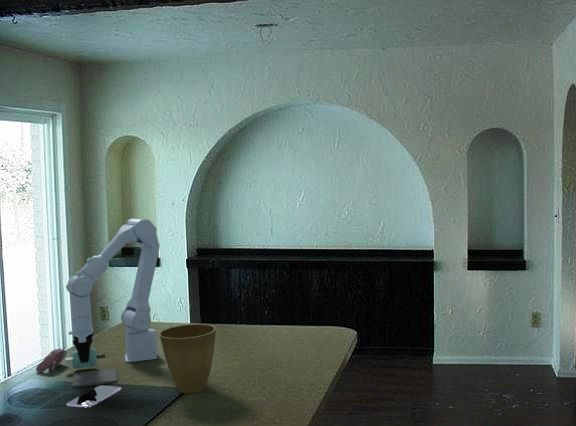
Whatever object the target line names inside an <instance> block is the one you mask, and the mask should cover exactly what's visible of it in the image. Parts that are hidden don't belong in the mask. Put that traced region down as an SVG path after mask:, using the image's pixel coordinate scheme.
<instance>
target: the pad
mask: <svg viewBox="0 0 576 426" xmlns="http://www.w3.org/2000/svg"><path fill="white" fill-rule="evenodd" d="M117 375H118V374H117V368H116V367H115V368H114V367H113V368H105V369H96V370H87V371H82V372H74V373H73V378H72V385H71V386H72V389H74V388H81V387H82V386H83V387H90V386H100V385H105V384H114V383H118V376H117ZM83 387H82V388H83Z"/></svg>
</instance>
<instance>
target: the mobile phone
mask: <svg viewBox="0 0 576 426" xmlns="http://www.w3.org/2000/svg"><path fill="white" fill-rule="evenodd" d="M121 390H122V387H121V386H114V385H113V386H112V385H105V384H100V385H97V386H95V387H94V388H92V389H90V390H88V391H86V392H84V393H83V394H81V395H80V396H78V397H76V398H75V397H74V398H73V399H72V400H69V401H68V402H66V405H65V406H67V407H74V408H82V407H84V409H87V407H89V408H92V407H93V405H94V406H95V405H98V404H99V403H101V402H103V401H104V400H106V399H107V398H109V397H112V396H113V395H114V394H116V393H118V392H119V391H121ZM100 401H101V402H100ZM98 402H99V403H98ZM91 406H92V407H91Z"/></svg>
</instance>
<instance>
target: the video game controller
mask: <svg viewBox="0 0 576 426" xmlns="http://www.w3.org/2000/svg"><path fill="white" fill-rule="evenodd" d="M67 353H68V350H65V349H63V348H56V349H53V350H52V351H50V352H49V353H48V354H47V355H46V356H45V357H44V359H43V360H42V361H41V362H40V363H39V364H38V365H37V366H36V368H35V371H36V372H37V374H38V373H39V374H40V373H43V372H45V371H46V370H50V371H53V370H54V368H55V367H56V368H58V367H59V366H61V363H62V362H63V361H64V359H66V358H67Z"/></svg>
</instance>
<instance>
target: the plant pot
mask: <svg viewBox="0 0 576 426" xmlns="http://www.w3.org/2000/svg"><path fill="white" fill-rule="evenodd" d="M216 329H217V328H216V327H215V326H214V325H213V324H212V325H211V324H204V323H203V324H202V323H195V324H194V323H193V324H181V325H176V326H172V327H168V328H166V329H163V330H161V331H160V332H159V338H160V342H161V348H162V351H163V355H164V358H165V362H166V365H167V367H168V370H169V373H170V375H171V378H172V379H173V383H174V385H175V387H176V389H177V390H178V392H179V393H183V394H194V393H199V392H201V391H203V390H205V389H206V388H207V384H208V381H209V377H210V374H211V369H212V366H213V365H212V364H213V359H214V354H215V347H216V345H215V344H216V334H217V333H216V331H217V330H216Z"/></svg>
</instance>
